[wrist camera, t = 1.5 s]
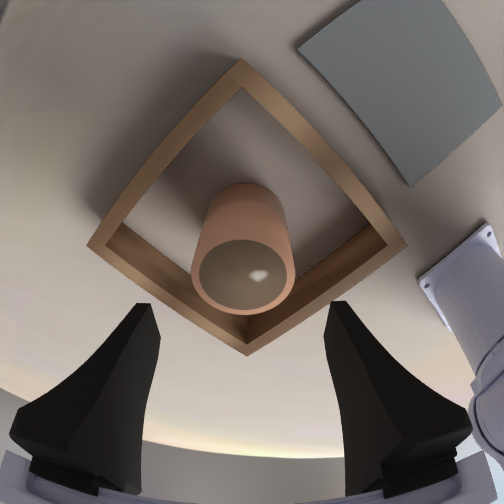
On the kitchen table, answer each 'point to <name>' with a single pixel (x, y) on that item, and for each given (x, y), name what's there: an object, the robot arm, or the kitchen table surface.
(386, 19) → the slate mat
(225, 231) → the terracotta pot
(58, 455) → the robot arm
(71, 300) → the kitchen table surface
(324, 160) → the wooden square frame
